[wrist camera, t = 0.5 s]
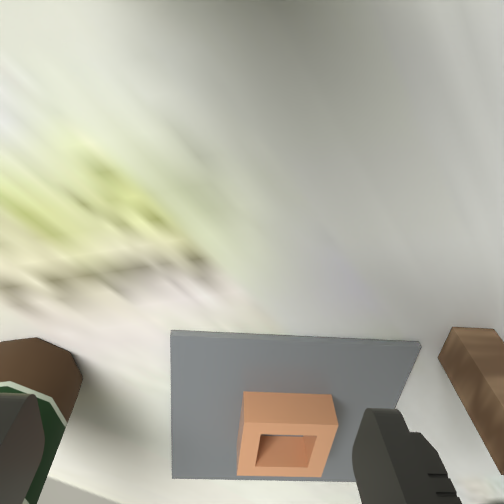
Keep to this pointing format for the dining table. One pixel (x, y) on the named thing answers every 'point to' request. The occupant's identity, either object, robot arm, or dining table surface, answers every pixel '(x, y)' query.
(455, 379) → the walnut peg
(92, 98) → the dining table surface
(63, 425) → the beer bottle
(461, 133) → the dining table surface
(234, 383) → the socket holder
